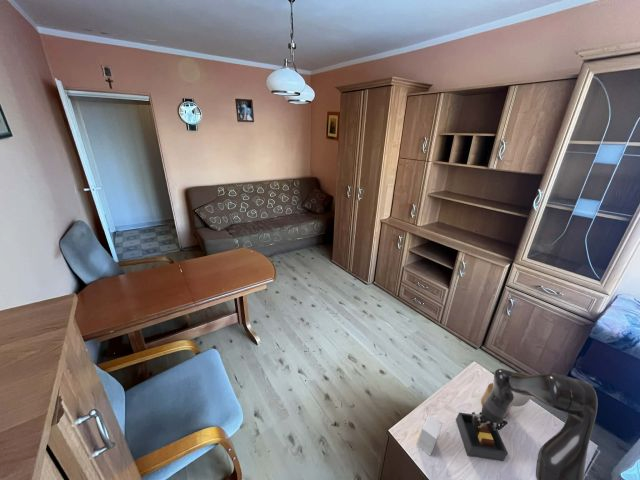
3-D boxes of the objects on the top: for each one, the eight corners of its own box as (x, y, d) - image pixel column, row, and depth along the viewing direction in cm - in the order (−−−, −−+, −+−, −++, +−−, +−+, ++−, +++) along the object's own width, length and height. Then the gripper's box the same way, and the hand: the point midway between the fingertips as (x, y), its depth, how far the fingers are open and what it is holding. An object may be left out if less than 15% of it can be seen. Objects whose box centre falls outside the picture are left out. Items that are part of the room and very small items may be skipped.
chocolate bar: (492, 447, 111) (495, 443, 109) (481, 445, 111) (483, 441, 110) (482, 422, 120) (484, 418, 118) (471, 421, 120) (473, 417, 119)
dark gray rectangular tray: (503, 461, 111) (508, 453, 108) (467, 455, 112) (471, 447, 110) (487, 424, 124) (491, 417, 121) (455, 420, 125) (459, 412, 123)
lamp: (522, 423, 125) (544, 389, 114) (498, 430, 122) (518, 396, 111) (495, 393, 138) (513, 360, 127) (473, 399, 135) (489, 365, 124)
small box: (421, 430, 120) (428, 413, 115) (436, 440, 117) (443, 423, 111) (415, 445, 115) (421, 428, 109) (430, 457, 111) (437, 439, 105)
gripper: (481, 414, 105) (468, 438, 113) (519, 419, 104) (503, 443, 111) (473, 396, 112) (462, 419, 119) (509, 401, 111) (495, 424, 118)
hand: (482, 431), depth 115 cm, fingers closed on chocolate bar, 4 cm apart
